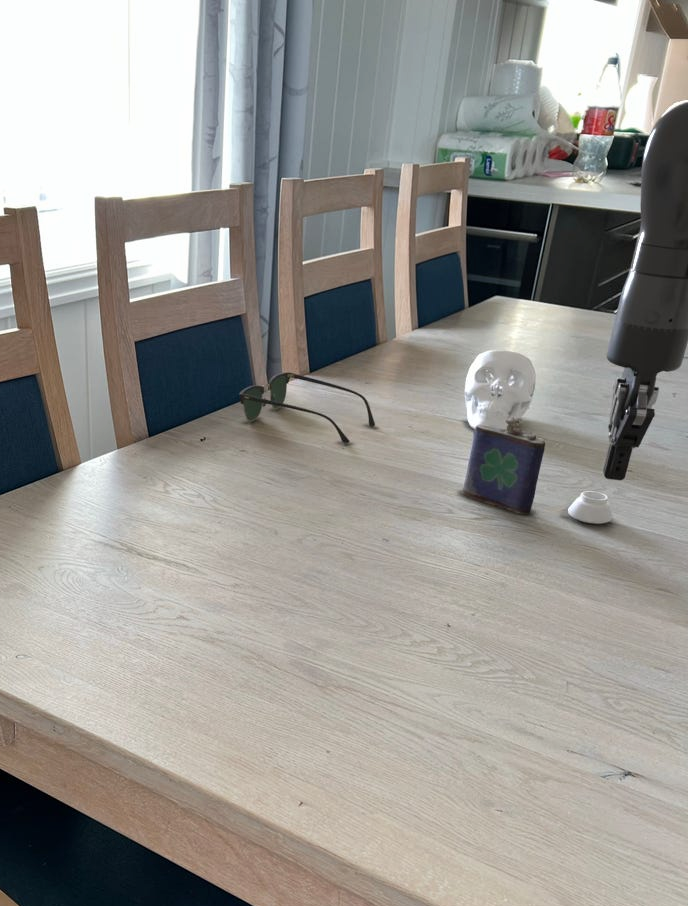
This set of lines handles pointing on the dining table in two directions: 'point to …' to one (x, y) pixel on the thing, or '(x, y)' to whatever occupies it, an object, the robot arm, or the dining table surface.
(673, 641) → the dining table surface
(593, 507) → the small white bowl
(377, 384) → the dining table surface
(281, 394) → the sunglasses
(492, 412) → the skull bowl
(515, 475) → the flask
